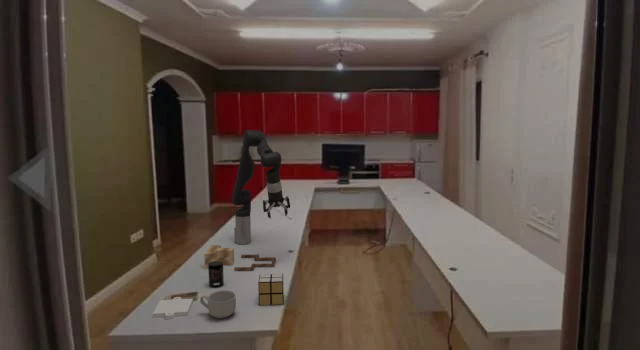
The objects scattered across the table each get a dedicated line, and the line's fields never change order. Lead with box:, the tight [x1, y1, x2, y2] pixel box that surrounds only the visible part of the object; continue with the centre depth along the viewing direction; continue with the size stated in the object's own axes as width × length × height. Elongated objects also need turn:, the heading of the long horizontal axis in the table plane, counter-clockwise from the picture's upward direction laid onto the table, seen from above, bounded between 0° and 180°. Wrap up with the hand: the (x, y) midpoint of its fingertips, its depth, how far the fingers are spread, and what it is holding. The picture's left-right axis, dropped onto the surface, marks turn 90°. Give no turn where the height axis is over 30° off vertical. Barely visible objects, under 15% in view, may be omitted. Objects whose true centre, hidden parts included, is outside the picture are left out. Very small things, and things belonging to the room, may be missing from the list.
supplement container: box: [207, 261, 225, 288], centre depth 198 cm, size 7×7×10 cm
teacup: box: [199, 289, 237, 319], centre depth 168 cm, size 14×11×8 cm
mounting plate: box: [152, 296, 194, 321], centre depth 173 cm, size 18×13×2 cm
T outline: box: [233, 254, 277, 272], centre depth 230 cm, size 20×23×2 cm
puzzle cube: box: [257, 272, 285, 306], centre depth 181 cm, size 10×10×10 cm
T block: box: [204, 244, 235, 270], centre depth 229 cm, size 13×16×8 cm
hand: (277, 216), depth 233 cm, fingers open, 8 cm apart
